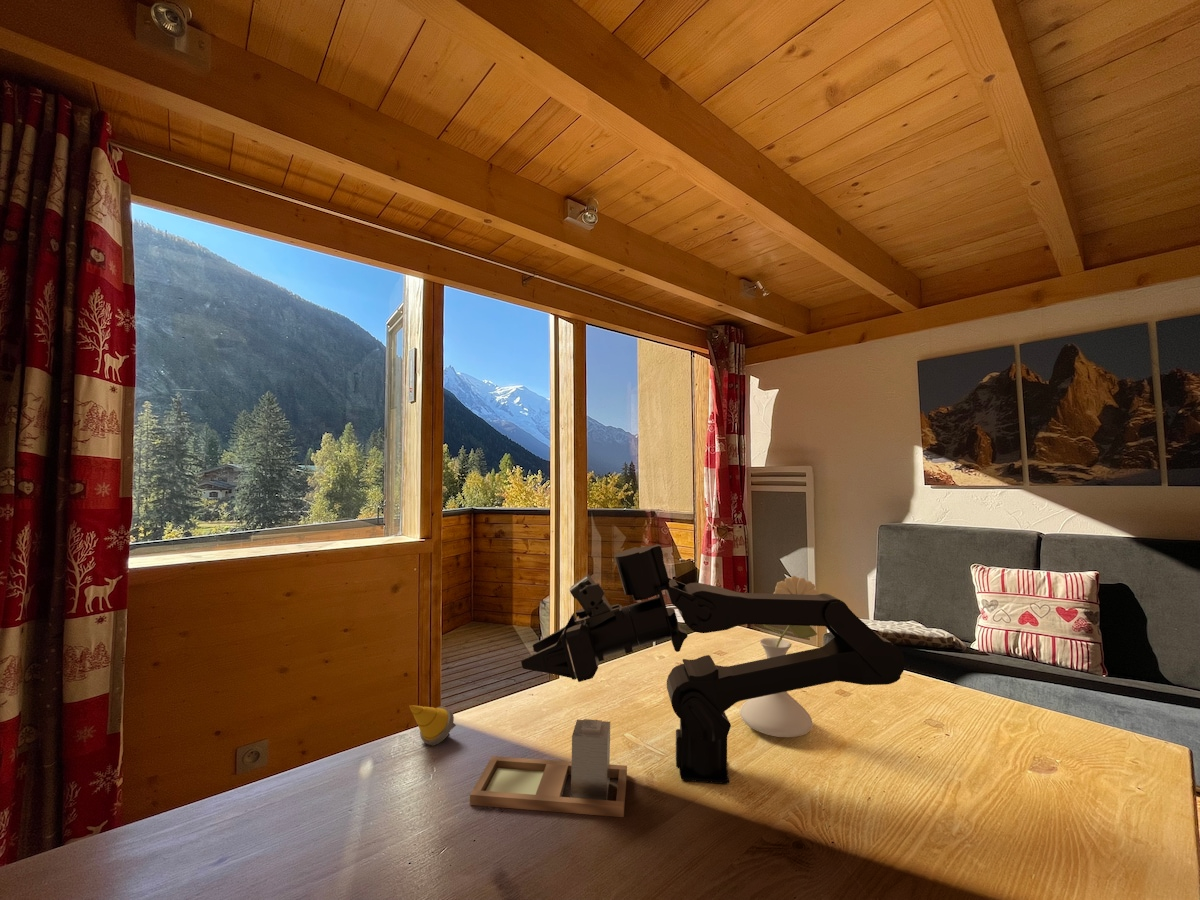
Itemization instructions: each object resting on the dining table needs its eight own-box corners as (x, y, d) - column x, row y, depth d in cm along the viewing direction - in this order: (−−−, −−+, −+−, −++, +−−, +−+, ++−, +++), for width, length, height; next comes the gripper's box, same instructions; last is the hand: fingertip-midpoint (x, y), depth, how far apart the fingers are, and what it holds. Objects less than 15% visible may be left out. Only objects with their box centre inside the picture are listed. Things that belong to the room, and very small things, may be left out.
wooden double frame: (626, 774, 71) (627, 765, 71) (623, 817, 62) (623, 806, 62) (491, 764, 73) (491, 756, 73) (469, 804, 64) (469, 794, 64)
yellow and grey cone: (462, 746, 79) (421, 717, 74) (432, 757, 80) (390, 729, 74) (465, 712, 83) (427, 682, 78) (437, 723, 84) (398, 694, 79)
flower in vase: (735, 736, 83) (735, 577, 84) (743, 707, 93) (744, 566, 94) (824, 754, 78) (824, 584, 79) (823, 721, 88) (822, 572, 90)
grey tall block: (609, 783, 69) (610, 717, 70) (606, 804, 65) (607, 733, 65) (575, 780, 70) (577, 715, 70) (570, 801, 65) (572, 731, 66)
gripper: (618, 564, 84) (525, 591, 84) (617, 576, 66) (498, 610, 66) (637, 633, 83) (543, 660, 83) (642, 665, 64) (521, 700, 64)
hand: (528, 655), depth 74 cm, fingers open, 9 cm apart
